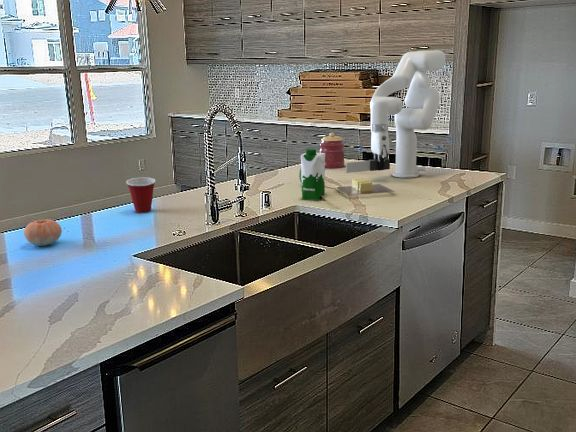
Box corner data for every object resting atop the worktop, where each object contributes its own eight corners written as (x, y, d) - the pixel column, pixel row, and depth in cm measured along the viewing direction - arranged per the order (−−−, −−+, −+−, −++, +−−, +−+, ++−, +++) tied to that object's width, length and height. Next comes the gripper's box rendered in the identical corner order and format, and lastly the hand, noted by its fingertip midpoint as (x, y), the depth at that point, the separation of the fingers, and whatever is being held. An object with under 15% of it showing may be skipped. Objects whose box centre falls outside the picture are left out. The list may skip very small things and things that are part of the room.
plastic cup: (132, 216, 215) (129, 184, 212) (125, 210, 225) (122, 179, 222) (161, 212, 220) (159, 180, 217) (153, 206, 230) (151, 176, 226)
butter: (362, 186, 251) (362, 178, 250) (369, 189, 245) (369, 181, 244) (351, 187, 250) (351, 179, 249) (357, 190, 243) (357, 182, 242)
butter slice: (370, 190, 243) (370, 181, 243) (372, 191, 242) (372, 182, 241) (358, 190, 242) (358, 182, 241) (360, 191, 240) (360, 183, 240)
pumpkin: (25, 251, 177) (22, 225, 175) (25, 241, 187) (22, 217, 185) (64, 246, 181) (60, 221, 179) (62, 237, 191) (59, 213, 189)
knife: (387, 168, 262) (387, 158, 261) (389, 169, 260) (389, 159, 259) (345, 172, 258) (345, 162, 256) (347, 173, 256) (347, 163, 254)
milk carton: (299, 199, 236) (298, 150, 231) (307, 194, 244) (307, 146, 239) (319, 201, 232) (319, 151, 227) (327, 196, 240) (327, 147, 235)
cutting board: (379, 187, 255) (379, 183, 255) (395, 195, 240) (395, 191, 240) (335, 190, 250) (335, 187, 250) (349, 198, 235) (349, 195, 235)
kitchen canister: (318, 168, 303) (318, 133, 299) (321, 164, 315) (320, 131, 311) (343, 168, 301) (343, 133, 296) (345, 164, 313) (345, 130, 309)
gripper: (395, 129, 249) (395, 172, 254) (380, 125, 264) (379, 165, 269) (378, 130, 247) (378, 173, 252) (364, 126, 262) (364, 167, 267)
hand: (379, 169), depth 260 cm, fingers closed on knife, 2 cm apart
